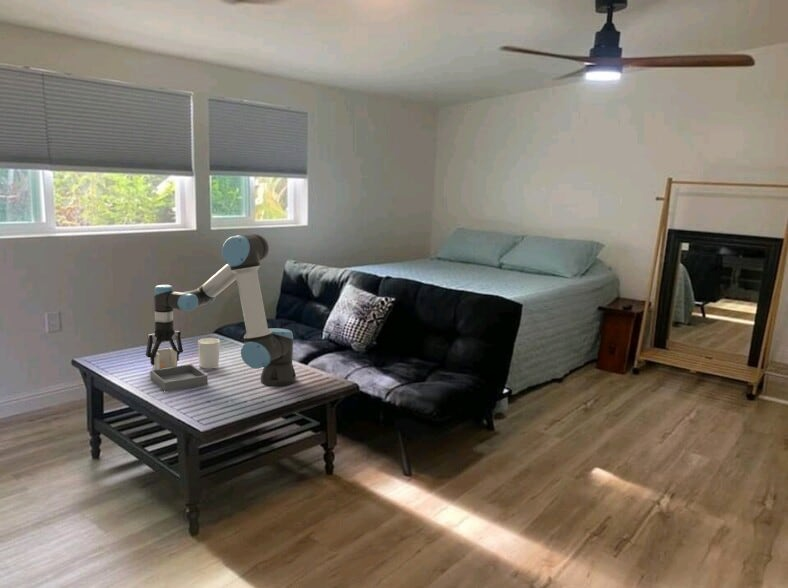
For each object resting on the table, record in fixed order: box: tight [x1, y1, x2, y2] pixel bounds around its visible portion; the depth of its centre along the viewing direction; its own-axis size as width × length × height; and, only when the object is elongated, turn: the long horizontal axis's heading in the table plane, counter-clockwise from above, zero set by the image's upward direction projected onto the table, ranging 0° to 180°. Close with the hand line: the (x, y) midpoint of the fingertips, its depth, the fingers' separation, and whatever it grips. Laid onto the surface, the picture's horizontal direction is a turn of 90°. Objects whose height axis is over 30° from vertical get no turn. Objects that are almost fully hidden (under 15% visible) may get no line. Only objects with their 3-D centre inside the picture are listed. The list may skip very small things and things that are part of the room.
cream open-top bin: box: [155, 347, 178, 370], centre depth 248 cm, size 8×8×9 cm
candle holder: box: [197, 337, 221, 369], centre depth 258 cm, size 10×10×12 cm
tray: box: [149, 363, 209, 393], centre depth 236 cm, size 18×18×4 cm
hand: (164, 369), depth 249 cm, fingers closed on cream open-top bin, 8 cm apart
